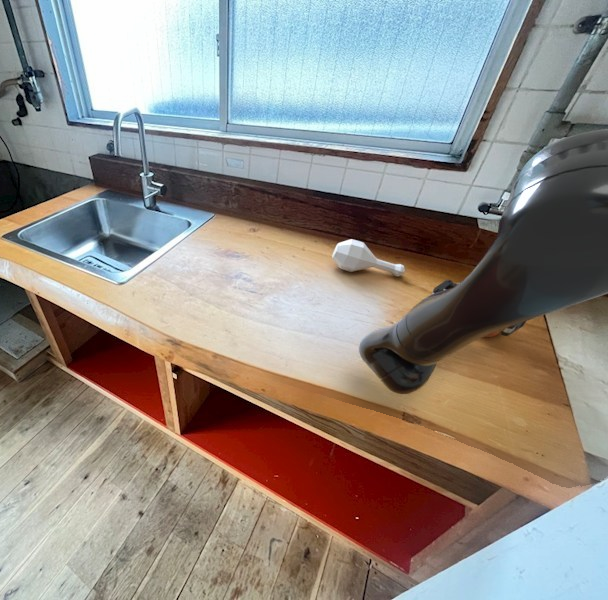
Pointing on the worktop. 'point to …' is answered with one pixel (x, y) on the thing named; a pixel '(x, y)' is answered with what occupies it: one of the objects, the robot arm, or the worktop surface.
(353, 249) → the chicken leg
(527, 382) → the worktop surface
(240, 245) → the worktop surface
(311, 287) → the worktop surface
